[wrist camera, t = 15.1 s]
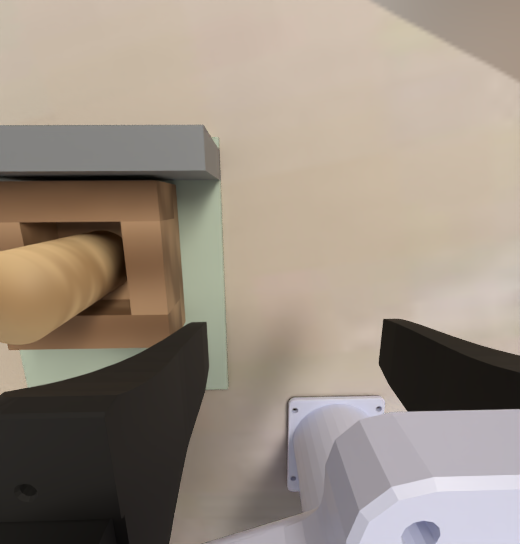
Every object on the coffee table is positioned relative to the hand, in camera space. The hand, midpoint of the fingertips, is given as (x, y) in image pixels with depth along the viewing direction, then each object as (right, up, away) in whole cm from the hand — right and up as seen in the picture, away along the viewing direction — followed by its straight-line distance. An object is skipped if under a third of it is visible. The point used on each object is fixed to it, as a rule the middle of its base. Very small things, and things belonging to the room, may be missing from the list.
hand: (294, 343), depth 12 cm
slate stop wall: (-12, +10, +8) cm, 18 cm away
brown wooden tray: (-12, +4, +9) cm, 16 cm away
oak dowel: (-12, +4, +8) cm, 15 cm away
